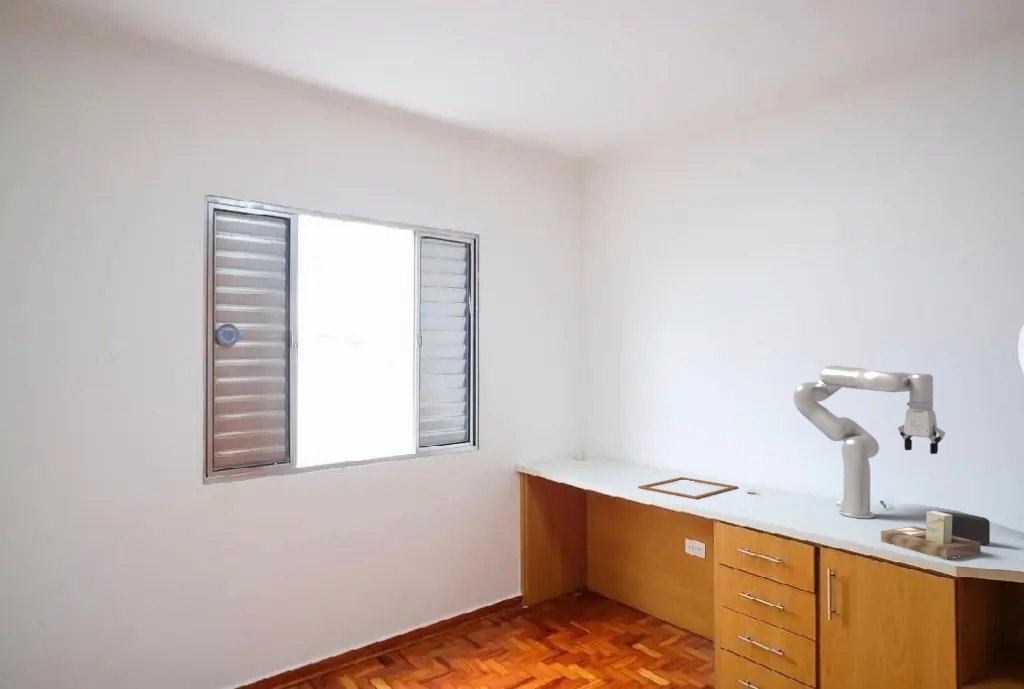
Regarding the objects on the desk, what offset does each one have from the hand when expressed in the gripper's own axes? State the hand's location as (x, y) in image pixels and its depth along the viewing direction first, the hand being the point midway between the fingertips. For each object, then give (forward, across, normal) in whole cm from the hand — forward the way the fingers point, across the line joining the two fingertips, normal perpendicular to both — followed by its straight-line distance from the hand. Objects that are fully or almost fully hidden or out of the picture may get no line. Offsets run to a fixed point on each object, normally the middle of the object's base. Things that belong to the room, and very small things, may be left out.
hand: (920, 451), depth 247 cm
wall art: (+29, -89, -35) cm, 100 cm away
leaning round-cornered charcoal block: (+29, +18, -6) cm, 34 cm away
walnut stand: (+28, +18, -23) cm, 41 cm away
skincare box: (+28, +21, -23) cm, 42 cm away
